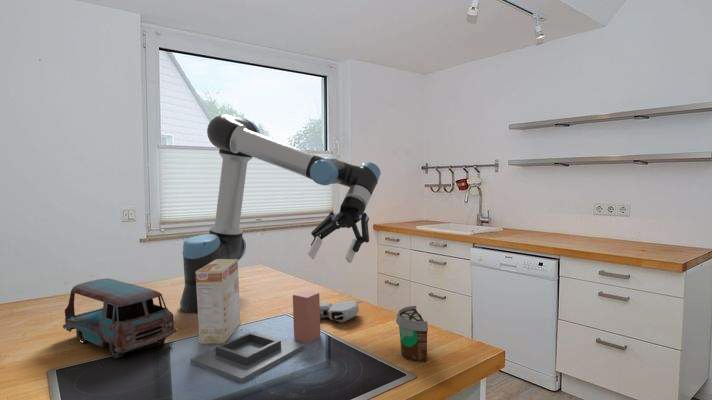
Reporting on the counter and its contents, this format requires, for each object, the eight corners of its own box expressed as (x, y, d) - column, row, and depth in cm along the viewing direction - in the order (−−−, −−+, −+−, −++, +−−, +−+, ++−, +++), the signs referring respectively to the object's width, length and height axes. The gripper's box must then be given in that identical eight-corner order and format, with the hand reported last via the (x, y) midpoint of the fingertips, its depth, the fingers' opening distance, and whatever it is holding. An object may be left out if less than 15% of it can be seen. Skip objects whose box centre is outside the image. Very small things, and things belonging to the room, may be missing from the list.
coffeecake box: (218, 323, 126) (215, 258, 125) (241, 323, 126) (239, 258, 124) (197, 344, 111) (194, 271, 110) (224, 344, 111) (221, 270, 110)
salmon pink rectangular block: (294, 338, 113) (292, 294, 112) (306, 332, 117) (305, 290, 117) (308, 342, 110) (307, 297, 110) (320, 336, 115) (319, 292, 114)
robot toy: (303, 325, 126) (350, 327, 120) (301, 310, 126) (348, 311, 120) (321, 312, 137) (364, 313, 132) (319, 298, 137) (363, 299, 132)
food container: (392, 344, 108) (391, 306, 108) (416, 343, 109) (415, 305, 108) (401, 366, 96) (401, 323, 95) (428, 365, 97) (427, 322, 96)
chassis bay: (190, 362, 100) (189, 350, 100) (254, 334, 117) (253, 324, 117) (242, 382, 90) (241, 369, 90) (304, 348, 107) (303, 337, 107)
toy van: (121, 367, 99) (117, 304, 98) (61, 339, 117) (57, 286, 116) (181, 343, 112) (178, 288, 111) (119, 321, 130) (116, 273, 128)
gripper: (393, 211, 131) (370, 269, 119) (329, 209, 145) (302, 261, 133) (384, 195, 126) (359, 254, 115) (319, 195, 140) (290, 247, 128)
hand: (328, 258), depth 124 cm, fingers open, 13 cm apart
